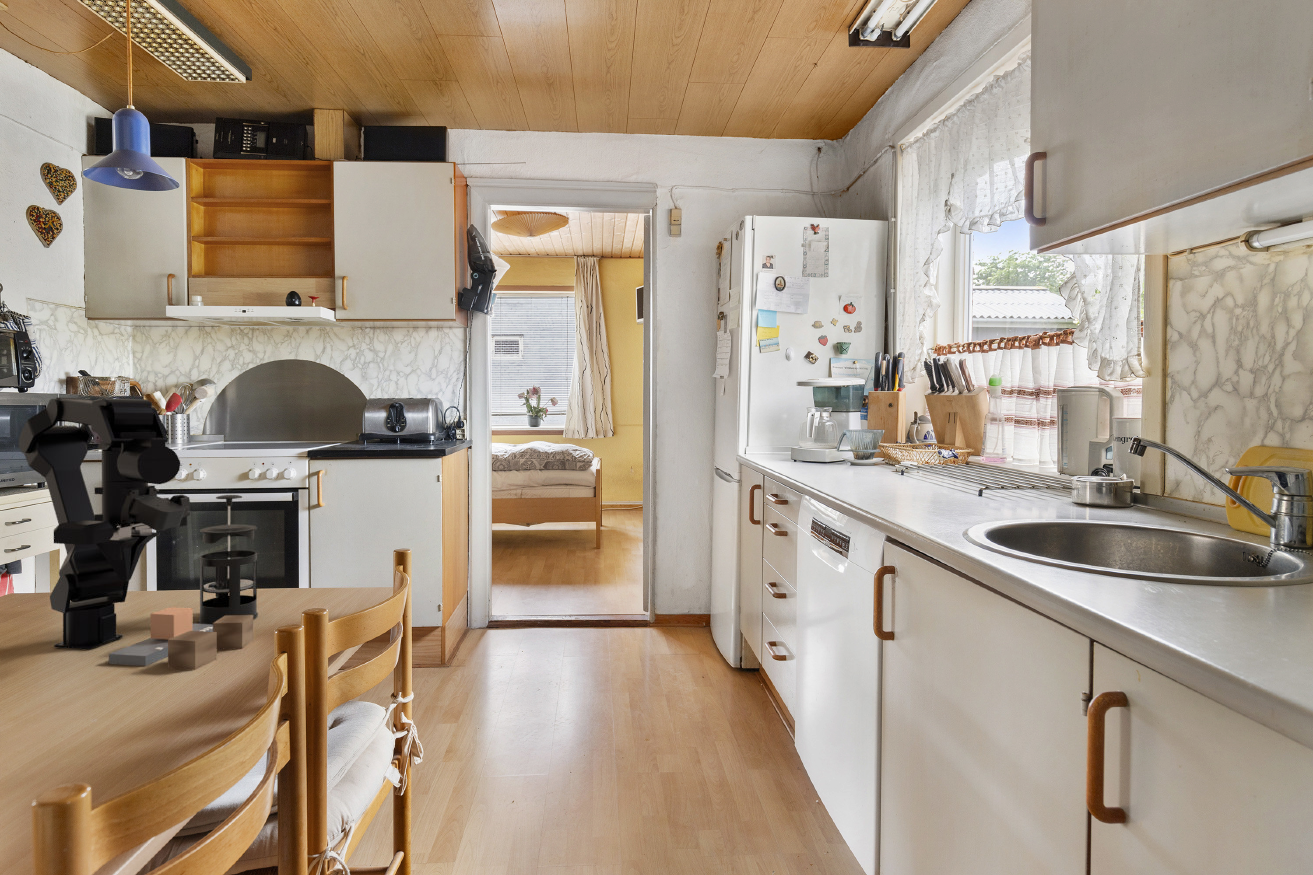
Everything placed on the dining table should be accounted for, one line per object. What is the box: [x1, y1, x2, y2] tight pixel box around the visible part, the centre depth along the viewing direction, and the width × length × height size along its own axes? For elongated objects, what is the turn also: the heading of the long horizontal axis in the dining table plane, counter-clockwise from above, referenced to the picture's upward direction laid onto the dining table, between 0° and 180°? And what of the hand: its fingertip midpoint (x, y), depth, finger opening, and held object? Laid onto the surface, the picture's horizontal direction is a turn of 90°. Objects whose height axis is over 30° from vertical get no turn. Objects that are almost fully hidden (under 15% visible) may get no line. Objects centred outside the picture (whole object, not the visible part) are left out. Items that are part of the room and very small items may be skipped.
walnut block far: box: [213, 615, 254, 651], centre depth 117 cm, size 4×4×4 cm
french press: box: [198, 494, 259, 625], centre depth 131 cm, size 12×9×23 cm
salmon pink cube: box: [150, 606, 194, 639], centre depth 115 cm, size 4×4×4 cm
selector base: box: [108, 623, 213, 667], centre depth 115 cm, size 6×16×2 cm, turn 175°
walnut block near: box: [167, 631, 218, 671], centre depth 108 cm, size 4×4×4 cm
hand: (125, 580), depth 110 cm, fingers closed
